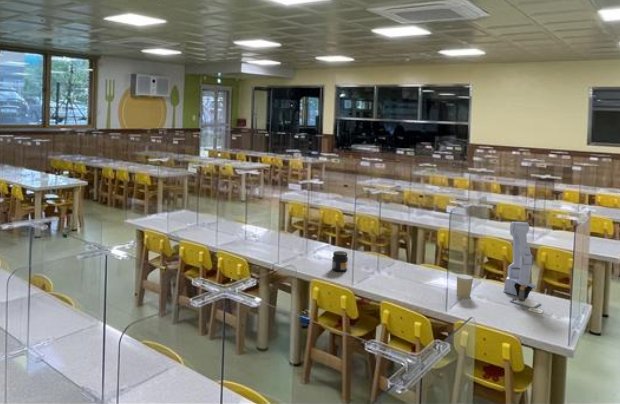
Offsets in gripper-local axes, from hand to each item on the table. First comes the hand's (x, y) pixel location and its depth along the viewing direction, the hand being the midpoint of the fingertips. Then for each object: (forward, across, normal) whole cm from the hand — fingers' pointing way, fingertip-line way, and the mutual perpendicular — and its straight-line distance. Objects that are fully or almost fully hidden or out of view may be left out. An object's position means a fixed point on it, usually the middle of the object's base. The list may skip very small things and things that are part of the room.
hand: (522, 297), depth 307 cm
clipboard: (+3, +2, 0) cm, 4 cm away
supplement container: (+3, -108, -41) cm, 115 cm away
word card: (+3, +11, -7) cm, 13 cm away
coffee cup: (+3, -28, -18) cm, 33 cm away
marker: (+2, 0, 0) cm, 2 cm away
